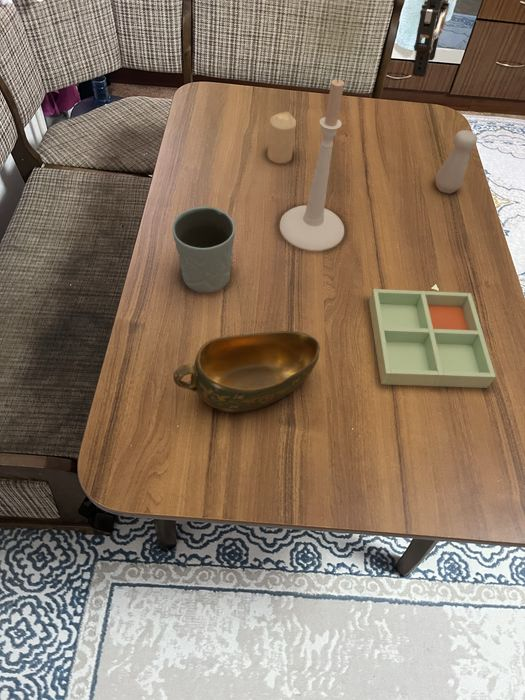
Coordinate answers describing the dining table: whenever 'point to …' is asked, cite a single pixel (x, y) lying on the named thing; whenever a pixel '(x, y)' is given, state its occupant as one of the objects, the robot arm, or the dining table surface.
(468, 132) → the salt shaker
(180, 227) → the grey green cup
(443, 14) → the robot arm
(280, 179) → the dining table surface
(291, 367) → the creamer
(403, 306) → the grid
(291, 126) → the candle
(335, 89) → the candlestick
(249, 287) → the dining table surface
